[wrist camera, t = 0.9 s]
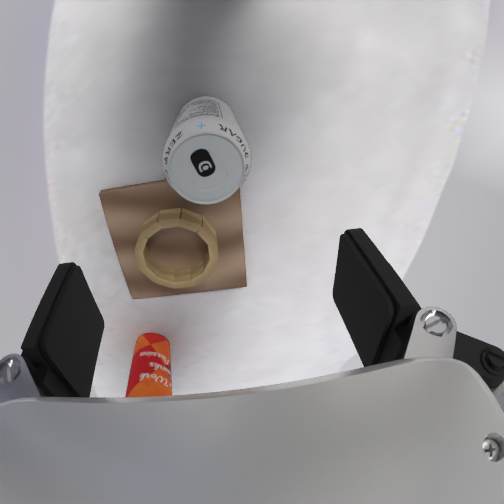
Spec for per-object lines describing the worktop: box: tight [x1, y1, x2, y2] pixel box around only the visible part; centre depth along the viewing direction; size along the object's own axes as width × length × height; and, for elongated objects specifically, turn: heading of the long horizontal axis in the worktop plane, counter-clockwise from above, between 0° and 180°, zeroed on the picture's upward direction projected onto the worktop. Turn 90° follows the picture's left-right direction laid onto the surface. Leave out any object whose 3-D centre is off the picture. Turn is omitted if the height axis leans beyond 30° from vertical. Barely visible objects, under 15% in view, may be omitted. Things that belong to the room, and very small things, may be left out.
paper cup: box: [125, 333, 172, 398], centre depth 44 cm, size 8×8×14 cm
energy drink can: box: [162, 96, 251, 204], centre depth 25 cm, size 6×6×15 cm
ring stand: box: [99, 180, 247, 299], centre depth 38 cm, size 16×16×4 cm
